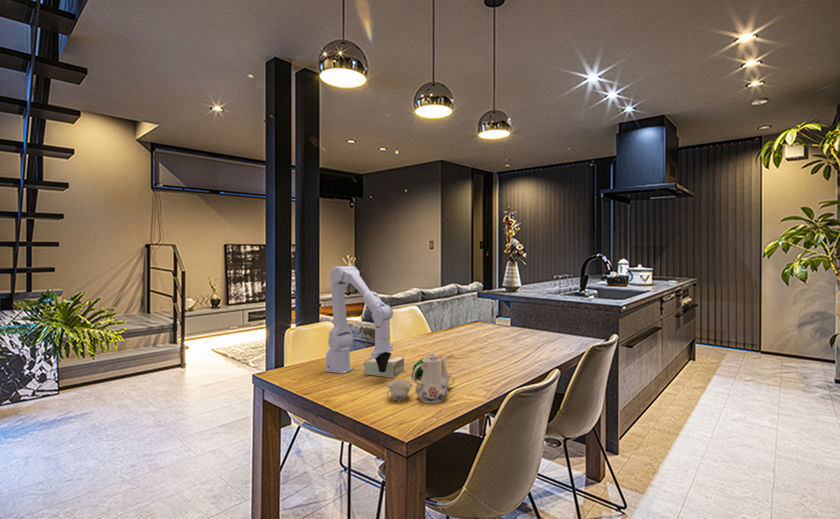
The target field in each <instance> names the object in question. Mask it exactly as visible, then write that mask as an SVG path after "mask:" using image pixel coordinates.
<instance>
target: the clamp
mask: <svg viewBox="0 0 840 519" xmlns="http://www.w3.org/2000/svg"><path fill="white" fill-rule="evenodd" d="M424 358H425V357H422V358H420V359H419V360H418V361H417V362H416V363H414V364H413V368H412V373H411V378H412V379H413V372H414V369H415V368H416V367H417V366H418V365H421V364H423V361H422V359H424ZM421 367H422V366H421ZM421 367H419V368H418V369H417V371H416V373H415V380H417V379H419V378H422V375H423V370H422V369H421Z"/></svg>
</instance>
